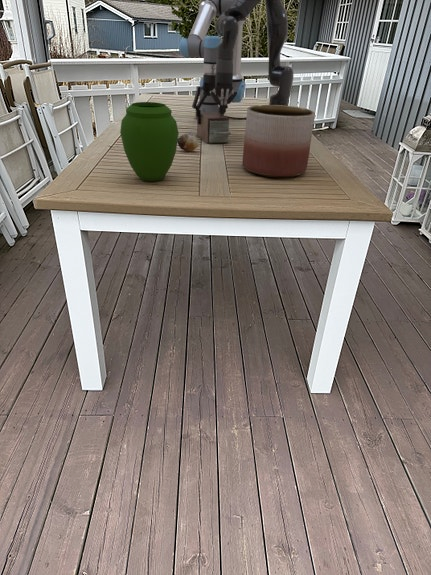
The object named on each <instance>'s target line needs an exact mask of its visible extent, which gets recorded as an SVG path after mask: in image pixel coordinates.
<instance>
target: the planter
mask: <svg viewBox="0 0 431 575" xmlns="http://www.w3.org/2000/svg"><path fill="white" fill-rule="evenodd" d="M315 117H316V112H315V111H314V110H312V109H308V108H305V107H299V106H292V105H288V106H284V105H269V104H256V105H250V106H248V107H247V108H246V117H245V118H246V119H245V128H244V129H245V131H244V140H243V141H244V142H243V151H242V152H243V153H242V166H243V168H244V169H246V170H247V171H248V172H250V173H251V174H255V175H258V176H261V177H268V178H277V179H280V178H281V179H282V178H283V179H284V178H293V177H298V176H300V175H303V174H305V172H306V171H307V169H308V166H309V158H310V151H311V144H312V137H313V130H314V123H315Z"/></svg>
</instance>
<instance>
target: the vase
mask: <svg viewBox="0 0 431 575" xmlns="http://www.w3.org/2000/svg"><path fill="white" fill-rule="evenodd" d="M125 113H126V114H125V115H124V117H122V119H121V122H120V123H121V124H120V130H119V133H120V138H121V142H122V147H123V150H124V154H125V155H126V158H127V160H128V163H129V165H130V167H131V168H132V170H133V172H134V173H135V175H136V176H137V177H138V178H139V179H141V180H143V181H145V182H159V181H161V180H163V179H164V178H165V176H166V175H167V174H168V173H169V170H170V169H171V167H172V165H173V162H174V159H175V157H176V156H175V155H176V153H177V147H178V142H177V141H178V138H179V129H178V122H177V120H176V119H175V117H174V116H173V115H172V109H171V108H170V107H169V106H167V105H166V104H164V103H162V102H155V101H138V102H132V103H131V104H130V105H128V107H127V108H125Z"/></svg>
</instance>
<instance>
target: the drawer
mask: <svg viewBox="0 0 431 575" xmlns="http://www.w3.org/2000/svg"><path fill="white" fill-rule="evenodd" d="M229 128H230V120H229V121H226V120H210V126H209V142H229V136H230V135H231V133H232V132H231V131H230V130H229Z"/></svg>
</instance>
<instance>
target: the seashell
mask: <svg viewBox="0 0 431 575" xmlns="http://www.w3.org/2000/svg"><path fill="white" fill-rule="evenodd" d="M199 145H200V143H199V140H198V138H197V137H195V135H194V134H193V132H192V131H189V132H187V133H184V134H182V135H180V137H178V141H177V146H178V147H179V149H180V150H183V151H185V152H192V151H194V150H196V149H197V148H198V147H200V146H199Z"/></svg>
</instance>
